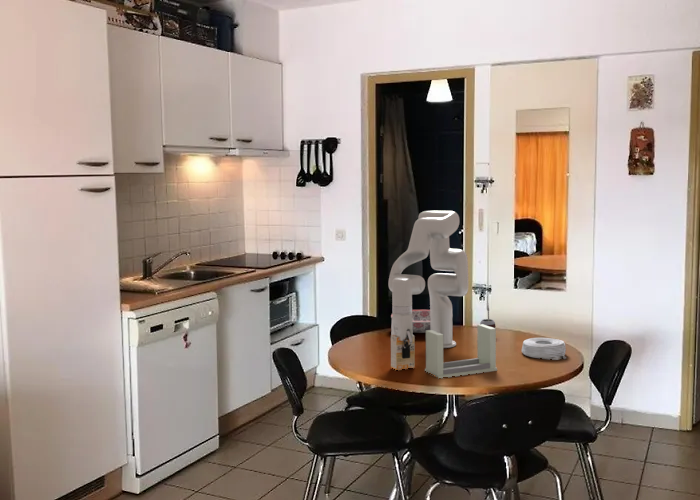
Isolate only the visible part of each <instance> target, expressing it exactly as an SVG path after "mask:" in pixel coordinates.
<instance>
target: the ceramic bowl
mask: <svg viewBox="0 0 700 500" xmlns="http://www.w3.org/2000/svg"><path fill="white" fill-rule="evenodd" d="M411 316H412V327H413V333H416V334H417V333H418V334H426V330H430V309H412V314H411ZM453 316H454V315H452V318H453ZM390 318H391V319H392V314H391V315H390Z"/></svg>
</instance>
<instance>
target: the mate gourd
mask: <svg viewBox="0 0 700 500" xmlns="http://www.w3.org/2000/svg"><path fill="white" fill-rule="evenodd" d="M486 305H487V318H483V319H481V320H480V323H479V325H480V324H484V325H487V326H490V327H493V328H496V326H497V325H496V322H495V320H493V319H490V306H489V305H490V304H489V302H487V303H486Z"/></svg>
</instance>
